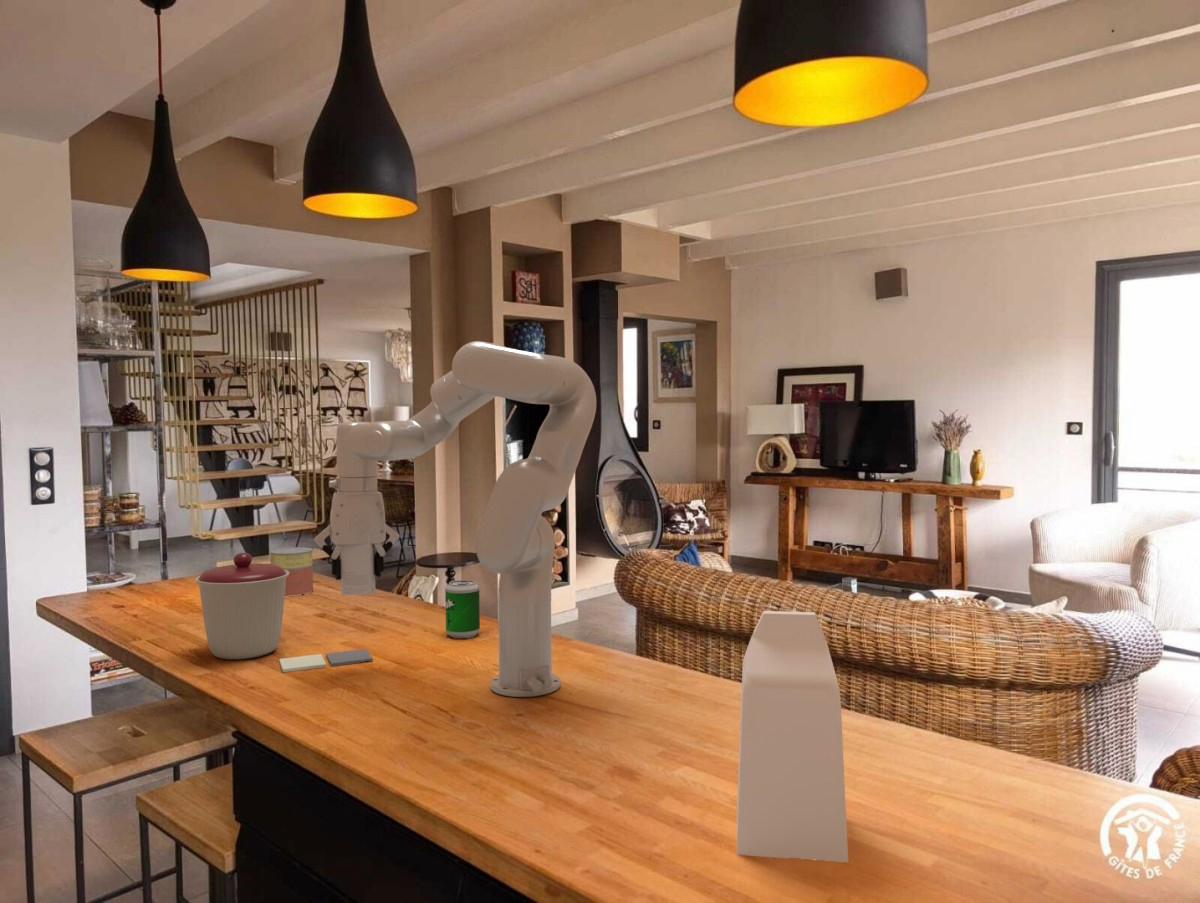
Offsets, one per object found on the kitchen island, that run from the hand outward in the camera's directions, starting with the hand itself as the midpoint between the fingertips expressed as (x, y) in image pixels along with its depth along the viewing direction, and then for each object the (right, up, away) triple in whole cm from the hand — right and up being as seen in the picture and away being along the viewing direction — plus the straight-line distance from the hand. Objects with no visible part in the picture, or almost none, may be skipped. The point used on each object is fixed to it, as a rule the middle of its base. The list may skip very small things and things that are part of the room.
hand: (357, 576), depth 167 cm
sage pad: (-12, -18, +4) cm, 22 cm away
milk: (+69, -21, -66) cm, 98 cm away
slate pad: (-4, -18, +8) cm, 20 cm away
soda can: (+16, -17, +26) cm, 35 cm away
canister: (-27, -18, +12) cm, 35 cm away
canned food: (-40, -16, +75) cm, 86 cm away
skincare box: (0, -4, 0) cm, 4 cm away
